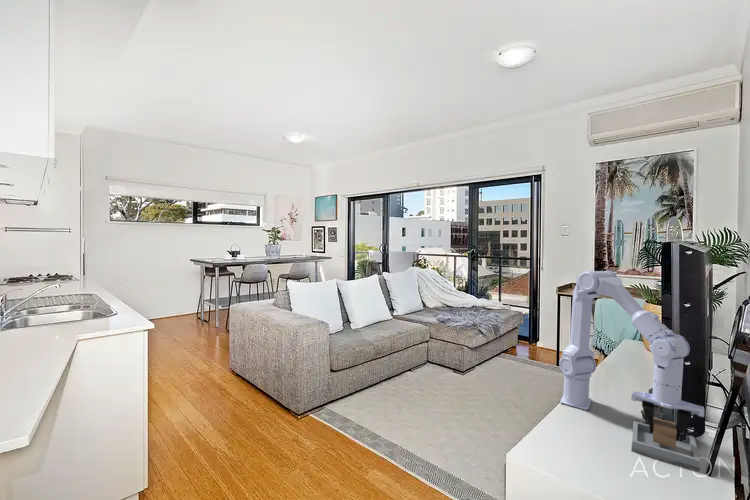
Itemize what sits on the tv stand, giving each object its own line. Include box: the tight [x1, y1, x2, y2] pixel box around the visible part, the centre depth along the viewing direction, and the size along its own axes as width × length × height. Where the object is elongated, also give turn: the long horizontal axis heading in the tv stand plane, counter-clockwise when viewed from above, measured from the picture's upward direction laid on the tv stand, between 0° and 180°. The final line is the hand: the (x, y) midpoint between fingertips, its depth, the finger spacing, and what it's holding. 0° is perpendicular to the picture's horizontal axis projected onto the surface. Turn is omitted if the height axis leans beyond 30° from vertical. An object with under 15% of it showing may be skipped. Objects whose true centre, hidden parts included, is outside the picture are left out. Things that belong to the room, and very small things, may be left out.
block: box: [653, 418, 677, 448], centre depth 95 cm, size 4×4×4 cm
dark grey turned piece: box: [640, 387, 663, 425], centre depth 106 cm, size 6×6×12 cm
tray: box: [631, 420, 701, 472], centre depth 95 cm, size 13×13×2 cm
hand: (664, 434), depth 95 cm, fingers closed on block, 4 cm apart
